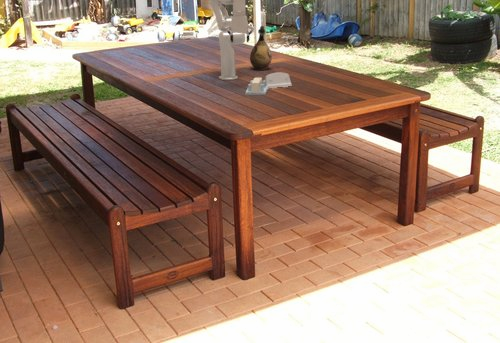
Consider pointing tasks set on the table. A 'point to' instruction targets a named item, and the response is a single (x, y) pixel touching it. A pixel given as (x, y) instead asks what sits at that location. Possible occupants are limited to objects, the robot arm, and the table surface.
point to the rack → (261, 92)
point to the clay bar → (256, 84)
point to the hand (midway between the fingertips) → (240, 41)
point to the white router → (278, 80)
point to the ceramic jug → (260, 53)
